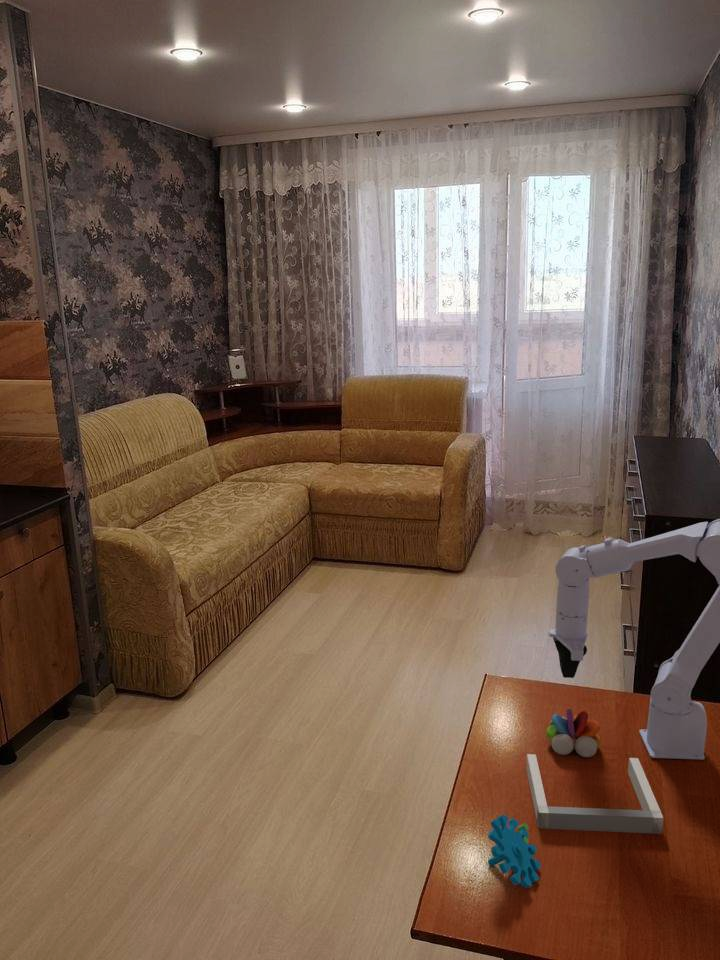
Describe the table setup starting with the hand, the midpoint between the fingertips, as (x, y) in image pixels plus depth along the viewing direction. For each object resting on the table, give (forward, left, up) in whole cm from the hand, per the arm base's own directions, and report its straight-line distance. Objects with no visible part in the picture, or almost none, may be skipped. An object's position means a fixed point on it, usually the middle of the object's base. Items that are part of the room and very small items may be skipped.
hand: (567, 675), depth 144 cm
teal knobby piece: (+14, +39, -10) cm, 43 cm away
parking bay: (0, +23, -9) cm, 24 cm away
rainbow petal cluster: (0, +9, -10) cm, 13 cm away
